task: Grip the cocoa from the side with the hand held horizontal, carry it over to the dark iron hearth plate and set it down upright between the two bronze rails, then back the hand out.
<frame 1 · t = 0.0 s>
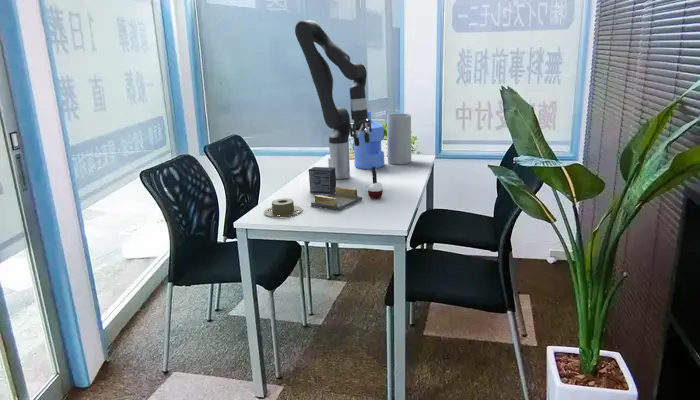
hand: (362, 144, 247), 17 cm above the table, tool pointing down, fingers open, 8 cm apart
flange: (283, 213, 210), on the table
hearth plate: (336, 203, 218), on the table
cylinder vase: (399, 162, 285), on the table
water jug: (369, 166, 280), on the table
small box: (323, 191, 236), on the table
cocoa: (375, 198, 223), on the table
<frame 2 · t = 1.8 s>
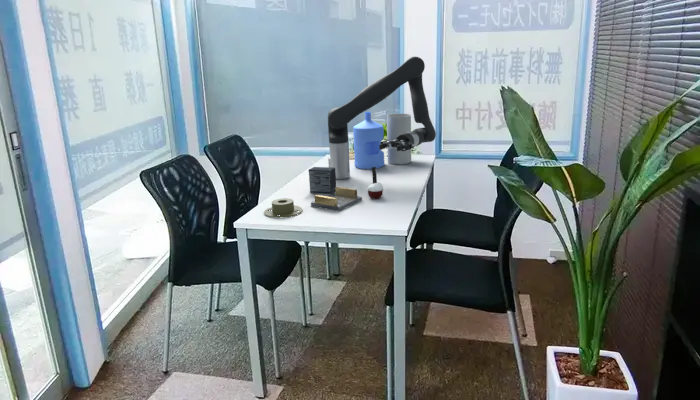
hand: (388, 147, 227), 19 cm above the table, tool horizontal, fingers open, 8 cm apart
nothing on the table moved.
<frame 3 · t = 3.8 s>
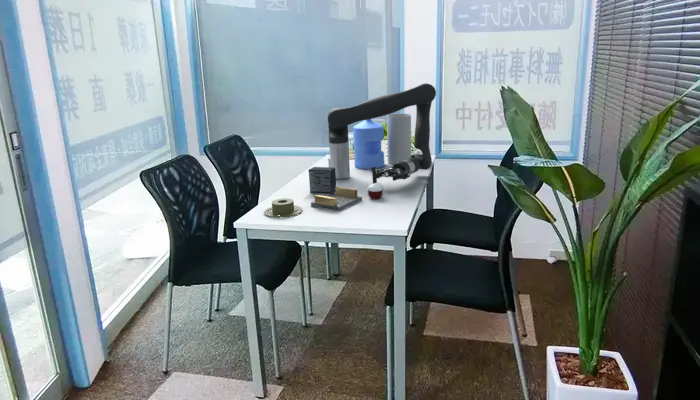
hand: (384, 177, 227), 7 cm above the table, tool horizontal, fingers open, 8 cm apart
nothing on the table moved.
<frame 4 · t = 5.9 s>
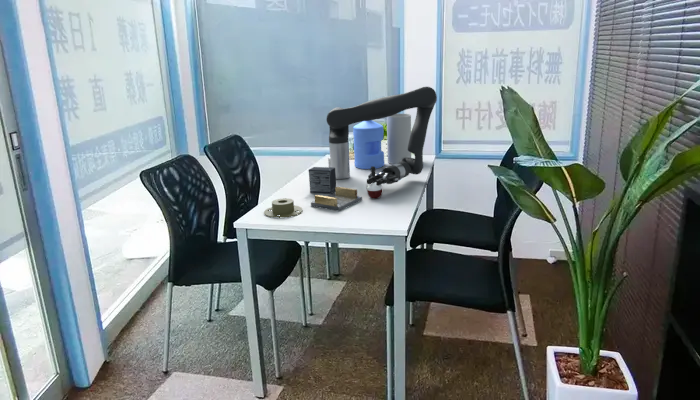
hand: (372, 182, 219), 7 cm above the table, tool horizontal, fingers closed on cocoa, 4 cm apart
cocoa: (375, 197, 224), on the table, touching gripper
everything else where it was.
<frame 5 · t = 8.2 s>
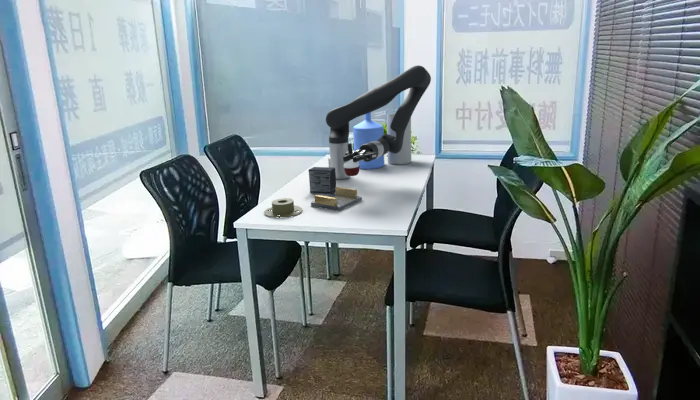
hand: (349, 159, 213), 18 cm above the table, tool horizontal, fingers closed on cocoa, 4 cm apart
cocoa: (352, 175, 218), point 11 cm above the table, touching gripper
everything else where it was.
when the fingers open (10 cm above the table, at t = 10.4 s): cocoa drops 2 cm, resting on hearth plate.
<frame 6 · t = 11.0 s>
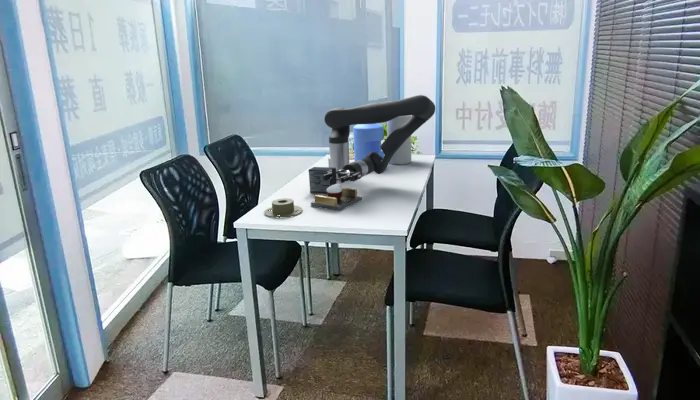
hand: (332, 179, 214), 11 cm above the table, tool horizontal, fingers open, 8 cm apart
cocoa: (335, 199, 218), point 1 cm above the table, touching hearth plate
everything else where it was.
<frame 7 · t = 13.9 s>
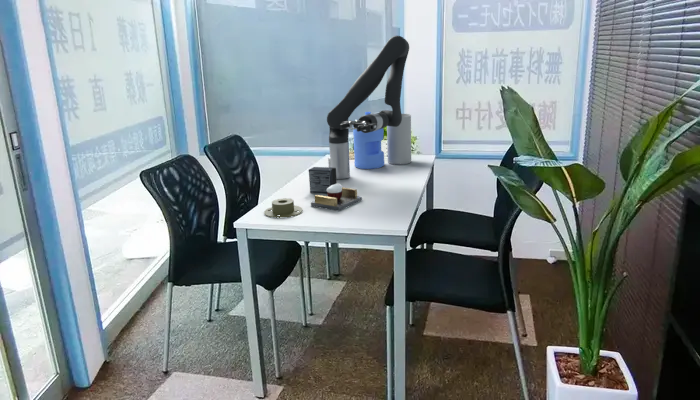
hand: (349, 128, 218), 29 cm above the table, tool horizontal, fingers open, 8 cm apart
nothing on the table moved.
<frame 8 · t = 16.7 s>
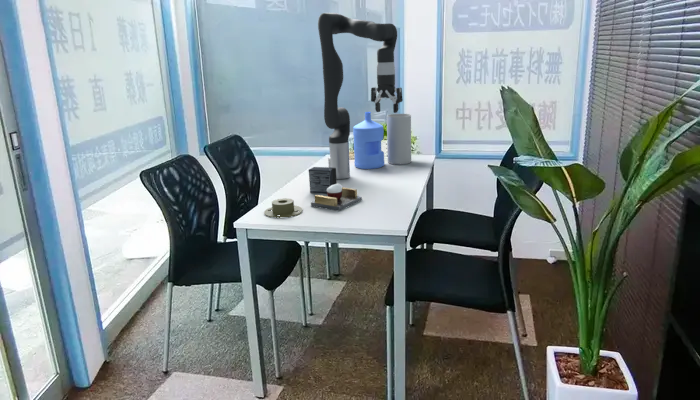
hand: (386, 112, 229), 33 cm above the table, tool pointing down, fingers open, 8 cm apart
nothing on the table moved.
at the end: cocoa inside the target area on the hearth plate (0.7 cm from its centre), point 1.3 cm above the hearth plate's base; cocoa tilted 0°; the gripper is holding nothing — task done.
